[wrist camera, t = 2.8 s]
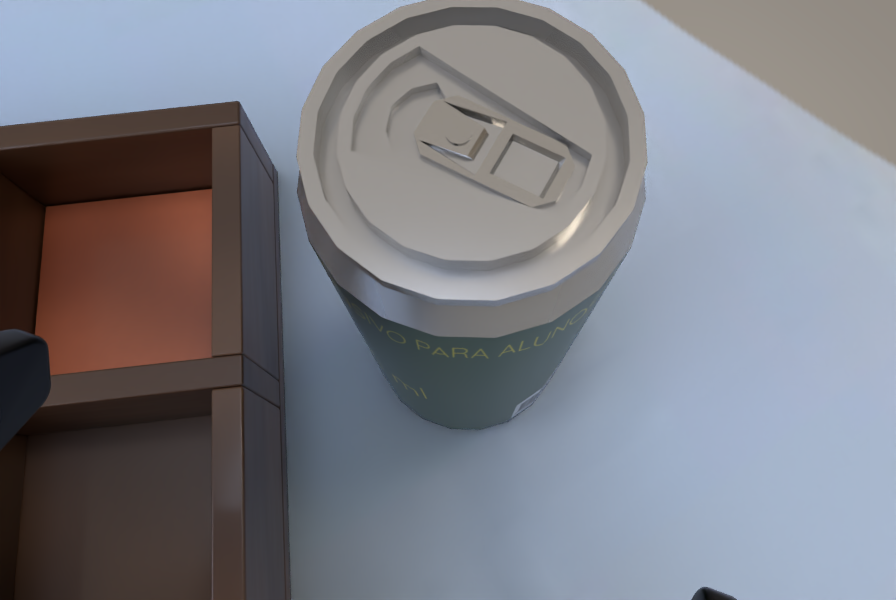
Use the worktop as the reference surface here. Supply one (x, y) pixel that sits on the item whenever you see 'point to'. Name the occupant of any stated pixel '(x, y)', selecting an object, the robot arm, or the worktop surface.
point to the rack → (145, 359)
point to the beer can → (471, 196)
